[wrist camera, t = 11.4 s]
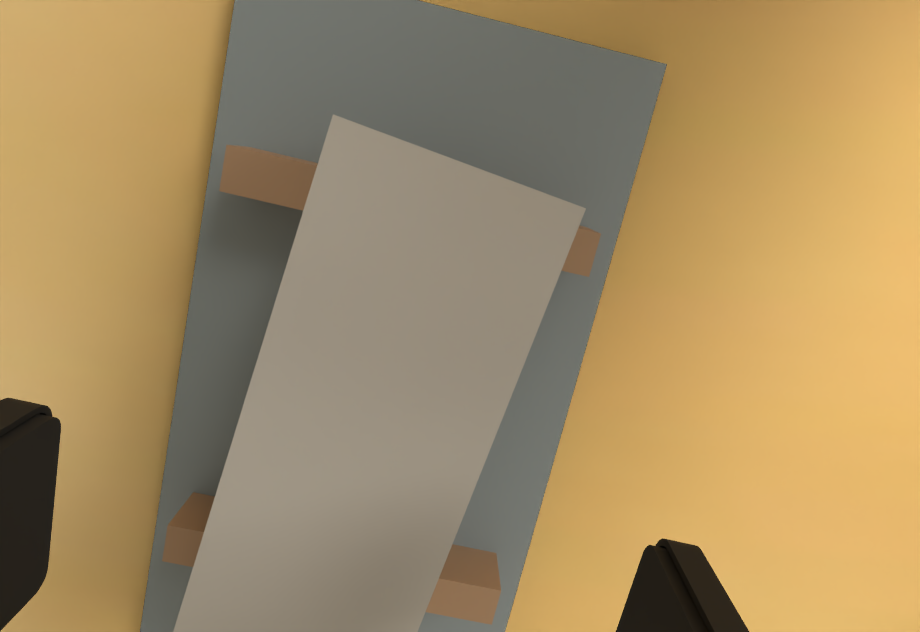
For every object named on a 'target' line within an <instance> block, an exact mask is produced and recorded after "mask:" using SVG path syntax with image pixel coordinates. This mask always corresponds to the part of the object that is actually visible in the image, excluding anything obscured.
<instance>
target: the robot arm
mask: <svg viewBox="0 0 920 632" xmlns="http://www.w3.org/2000/svg"><path fill="white" fill-rule="evenodd" d="M60 433H61V424H60V420H59V419H58V418H55V417H52V412H51V409H50V408H49V407H48V406H45V405H40V404H35V403H31V402H26V401H22V400H17V399H12V398H5V399H3V400H0V631H1V630H2V629H3V628H4V627H5V625H6V624H7V623H8V622H9V621H10V620H11V619H12V618H13V617H14V616H15V615H16V614H17V613H18V612H19V611H20V610H21V609H22V608H23V607H24V606H25V605H26V604H27V602H28V601H29V600H30V599H31V598H32V597H33V596H34V595H35V594H36V593H37V591H38V590H39V589H40V587H41V585H42V583H43V581H44V579H45V577H46V574H47V569H48V562H49V551H50V540H51V530H52V519H53V508H54V497H55V487H56V476H57V465H58V454H59V443H60ZM616 632H749V631H748V629H747V627H746V625H745V624H744V622H743V620H742V619H741V617H740V615H739V614H738V612H737V610H736V608H735V607H734V605H733V603H732V602H731V600H730V598H729V596H728V595H727V593H726V591H725V590H724V588H723V586H722V585H721V583H720V581H719V579H718V578H717V576H716V574H715V573H714V571H713V569H712V568H711V566H710V564H709V562H708V561H707V559H706V557H705V556H704V554H703V552H702V550H701V549H700V548H699V547H698V546H695V545H690V544H686V543H681V542H677V541H672V540H667V539H661V540H659V541H658V543H657V544H656V546H652V545H649V546H647V547H646V548H645V550H644V552H643V555H642V558H641V560H640V563H639V566H638V569H637V572H636V575H635V578H634V581H633V584H632V587H631V589H630V592H629V595H628V598H627V601H626V604H625V607H624V610H623V613H622V616H621V618H620V621H619V624H618V627H617V630H616Z"/></svg>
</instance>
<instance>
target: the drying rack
mask: <svg viewBox="0 0 920 632" xmlns="http://www.w3.org/2000/svg"><path fill="white" fill-rule="evenodd" d="M666 66H667V64H664V63H660V62H656V61H652V60H648V59H644V58H640V57H636V56H633V55H629V54H625V53H621V52H617V51H613V50H609V49H605V48H601V47H598V46H594V45H590V44H586V43H582V42H578V41H574V40H570V39H566V38H563V37H559V36H555V35H551V34H547V33H543V32H539V31H535V30H531V29H528V28H524V27H520V26H516V25H512V24H508V23H504V22H500V21H497V20H493V19H489V18H485V17H481V16H477V15H473V14H469V13H465V12H462V11H458V10H454V9H450V8H446V7H442V6H438V5H434V4H430V3H427V2H423V1H419V0H235V2H234V9H233V15H232V22H231V29H230V35H229V42H228V49H227V55H226V62H225V69H224V75H223V82H222V89H221V95H220V102H219V109H218V115H217V122H216V129H215V135H214V142H213V149H212V155H211V162H210V169H209V175H208V182H207V189H206V195H205V202H204V209H203V215H202V222H201V229H200V235H199V242H198V249H197V255H196V262H195V269H194V275H193V282H192V288H191V295H190V302H189V308H188V315H187V322H186V328H185V335H184V342H183V348H182V355H181V362H180V368H179V375H178V382H177V388H176V395H175V402H174V408H173V415H172V422H171V428H170V435H169V442H168V448H167V455H166V462H165V468H164V475H163V482H162V488H161V495H160V502H159V508H158V515H157V522H156V528H155V535H154V542H153V548H152V555H151V562H150V568H149V575H148V581H147V588H146V595H145V601H144V608H143V615H142V621H141V628H140V632H173V631H174V628H175V624H176V621H177V618H178V615H179V611H180V608H181V605H182V602H183V599H184V595H185V592H186V589H187V586H188V582H189V579H190V576H191V573H192V569H193V566H194V563H195V560H196V556H197V553H198V550H199V547H200V543H201V540H202V537H203V534H204V531H205V527H206V524H207V521H208V518H209V514H210V511H211V508H212V505H213V501H214V498H215V495H216V492H217V488H218V485H219V482H220V479H221V476H222V472H223V469H224V466H225V463H226V459H227V456H228V453H229V450H230V446H231V443H232V440H233V437H234V433H235V430H236V427H237V424H238V420H239V417H240V414H241V411H242V408H243V404H244V401H245V398H246V395H247V391H248V388H249V385H250V382H251V378H252V375H253V372H254V369H255V365H256V362H257V359H258V356H259V352H260V349H261V346H262V343H263V340H264V336H265V333H266V330H267V327H268V323H269V320H270V317H271V314H272V310H273V307H274V304H275V301H276V297H277V294H278V291H279V288H280V284H281V281H282V278H283V275H284V272H285V268H286V265H287V262H288V259H289V255H290V252H291V249H292V246H293V242H294V239H295V236H296V233H297V229H298V226H299V223H300V220H301V217H302V213H303V210H304V207H305V204H306V200H307V197H308V194H309V191H310V187H311V184H312V181H313V178H314V174H315V171H316V168H317V165H318V161H319V158H320V155H321V152H322V149H323V145H324V142H325V139H326V136H327V132H328V129H329V126H330V123H331V119H332V116H333V114H334V115H336V116H339V117H342V118H344V119H347V120H350V121H352V122H355V123H358V124H360V125H363V126H366V127H368V128H371V129H374V130H376V131H379V132H382V133H385V134H387V135H390V136H393V137H395V138H398V139H401V140H403V141H406V142H409V143H411V144H414V145H417V146H419V147H422V148H425V149H428V150H430V151H433V152H436V153H438V154H441V155H444V156H446V157H449V158H452V159H454V160H457V161H460V162H462V163H465V164H468V165H471V166H473V167H476V168H479V169H481V170H484V171H487V172H489V173H492V174H495V175H497V176H500V177H503V178H505V179H508V180H511V181H513V182H516V183H519V184H522V185H524V186H527V187H530V188H532V189H535V190H538V191H540V192H543V193H546V194H548V195H551V196H554V197H556V198H559V199H562V200H565V201H567V202H570V203H573V204H575V205H578V206H581V207H583V208H586V210H585V213H584V215H583V218H582V220H581V223H580V225H579V228H578V230H577V233H576V235H575V238H574V240H573V243H572V245H571V248H570V250H569V253H568V255H567V258H566V260H565V263H564V265H563V268H562V270H561V273H560V275H559V278H558V280H557V283H556V285H555V288H554V290H553V293H552V295H551V298H550V300H549V303H548V305H547V308H546V310H545V313H544V315H543V318H542V320H541V323H540V326H539V328H538V331H537V333H536V336H535V338H534V341H533V343H532V346H531V348H530V351H529V353H528V356H527V358H526V361H525V363H524V366H523V368H522V371H521V373H520V376H519V378H518V381H517V383H516V386H515V388H514V391H513V393H512V396H511V398H510V401H509V403H508V406H507V408H506V411H505V413H504V416H503V418H502V421H501V423H500V426H499V428H498V431H497V433H496V436H495V439H494V441H493V444H492V446H491V449H490V451H489V454H488V456H487V459H486V461H485V464H484V466H483V469H482V471H481V474H480V476H479V479H478V481H477V484H476V486H475V489H474V491H473V494H472V496H471V499H470V501H469V504H468V506H467V509H466V511H465V514H464V516H463V519H462V521H461V524H460V526H459V529H458V531H457V534H456V536H455V539H454V541H453V544H452V546H451V549H450V551H449V554H448V557H447V559H446V562H445V564H444V567H443V569H442V572H441V574H440V577H439V579H438V582H437V584H436V587H435V589H434V592H433V594H432V597H431V599H430V602H429V604H428V607H427V609H426V612H425V614H424V617H423V619H422V622H421V624H420V627H419V629H418V632H505V630H506V626H507V623H508V619H509V616H510V612H511V609H512V605H513V602H514V598H515V595H516V591H517V588H518V584H519V581H520V577H521V574H522V570H523V567H524V563H525V560H526V556H527V553H528V549H529V546H530V542H531V539H532V535H533V532H534V528H535V525H536V521H537V518H538V514H539V511H540V507H541V504H542V500H543V497H544V493H545V490H546V486H547V483H548V479H549V476H550V472H551V469H552V465H553V462H554V458H555V455H556V451H557V448H558V444H559V441H560V437H561V434H562V430H563V427H564V423H565V420H566V416H567V413H568V409H569V406H570V402H571V399H572V395H573V392H574V388H575V385H576V381H577V377H578V374H579V370H580V367H581V363H582V360H583V356H584V353H585V349H586V346H587V342H588V339H589V335H590V332H591V328H592V325H593V321H594V318H595V314H596V311H597V307H598V304H599V300H600V297H601V293H602V290H603V286H604V283H605V279H606V276H607V272H608V269H609V265H610V262H611V258H612V255H613V251H614V248H615V244H616V241H617V237H618V234H619V230H620V227H621V223H622V220H623V216H624V213H625V209H626V206H627V202H628V199H629V195H630V192H631V188H632V185H633V181H634V178H635V174H636V171H637V167H638V164H639V160H640V157H641V153H642V150H643V146H644V143H645V139H646V136H647V132H648V129H649V125H650V122H651V118H652V115H653V111H654V108H655V104H656V101H657V97H658V94H659V90H660V87H661V83H662V80H663V76H664V73H665V69H666Z"/></svg>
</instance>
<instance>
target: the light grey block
mask: <svg viewBox="0 0 920 632" xmlns="http://www.w3.org/2000/svg"><path fill="white" fill-rule="evenodd" d="M585 210H586V208H583V207H581V206H578V205H575V204H573V203H570V202H567V201H565V200H562V199H559V198H556V197H554V196H551V195H548V194H546V193H543V192H540V191H538V190H535V189H532V188H530V187H527V186H524V185H522V184H519V183H516V182H513V181H511V180H508V179H505V178H503V177H500V176H497V175H495V174H492V173H489V172H487V171H484V170H481V169H479V168H476V167H473V166H471V165H468V164H465V163H462V162H460V161H457V160H454V159H452V158H449V157H446V156H444V155H441V154H438V153H436V152H433V151H430V150H428V149H425V148H422V147H419V146H417V145H414V144H411V143H409V142H406V141H403V140H401V139H398V138H395V137H393V136H390V135H387V134H385V133H382V132H379V131H376V130H374V129H371V128H368V127H366V126H363V125H360V124H358V123H355V122H352V121H350V120H347V119H344V118H342V117H339V116H336V115H334V114H333V116H332V119H331V123H330V126H329V129H328V132H327V136H326V139H325V142H324V145H323V149H322V152H321V155H320V158H319V161H318V165H317V168H316V171H315V174H314V178H313V181H312V184H311V187H310V191H309V194H308V197H307V200H306V204H305V207H304V210H303V213H302V217H301V220H300V223H299V226H298V229H297V233H296V236H295V239H294V242H293V246H292V249H291V252H290V255H289V259H288V262H287V265H286V268H285V272H284V275H283V278H282V281H281V284H280V288H279V291H278V294H277V297H276V301H275V304H274V307H273V310H272V314H271V317H270V320H269V323H268V327H267V330H266V333H265V336H264V340H263V343H262V346H261V349H260V352H259V356H258V359H257V362H256V365H255V369H254V372H253V375H252V378H251V382H250V385H249V388H248V391H247V395H246V398H245V401H244V404H243V408H242V411H241V414H240V417H239V420H238V424H237V427H236V430H235V433H234V437H233V440H232V443H231V446H230V450H229V453H228V456H227V459H226V463H225V466H224V469H223V472H222V476H221V479H220V482H219V485H218V488H217V492H216V495H215V498H214V501H213V505H212V508H211V511H210V514H209V518H208V521H207V524H206V527H205V531H204V534H203V537H202V540H201V543H200V547H199V550H198V553H197V556H196V560H195V563H194V566H193V569H192V573H191V576H190V579H189V582H188V586H187V589H186V592H185V595H184V599H183V602H182V605H181V608H180V611H179V615H178V618H177V621H176V624H175V628H174V631H173V632H418V629H419V627H420V624H421V622H422V619H423V617H424V614H425V612H426V609H427V607H428V604H429V602H430V599H431V597H432V594H433V592H434V589H435V587H436V584H437V582H438V579H439V577H440V574H441V572H442V569H443V567H444V564H445V562H446V559H447V557H448V554H449V551H450V549H451V546H452V544H453V541H454V539H455V536H456V534H457V531H458V529H459V526H460V524H461V521H462V519H463V516H464V514H465V511H466V509H467V506H468V504H469V501H470V499H471V496H472V494H473V491H474V489H475V486H476V484H477V481H478V479H479V476H480V474H481V471H482V469H483V466H484V464H485V461H486V459H487V456H488V454H489V451H490V449H491V446H492V444H493V441H494V439H495V436H496V433H497V431H498V428H499V426H500V423H501V421H502V418H503V416H504V413H505V411H506V408H507V406H508V403H509V401H510V398H511V396H512V393H513V391H514V388H515V386H516V383H517V381H518V378H519V376H520V373H521V371H522V368H523V366H524V363H525V361H526V358H527V356H528V353H529V351H530V348H531V346H532V343H533V341H534V338H535V336H536V333H537V331H538V328H539V326H540V323H541V320H542V318H543V315H544V313H545V310H546V308H547V305H548V303H549V300H550V298H551V295H552V293H553V290H554V288H555V285H556V283H557V280H558V278H559V275H560V273H561V270H562V268H563V265H564V263H565V260H566V258H567V255H568V253H569V250H570V248H571V245H572V243H573V240H574V238H575V235H576V233H577V230H578V228H579V225H580V223H581V220H582V218H583V215H584V213H585Z"/></svg>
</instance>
